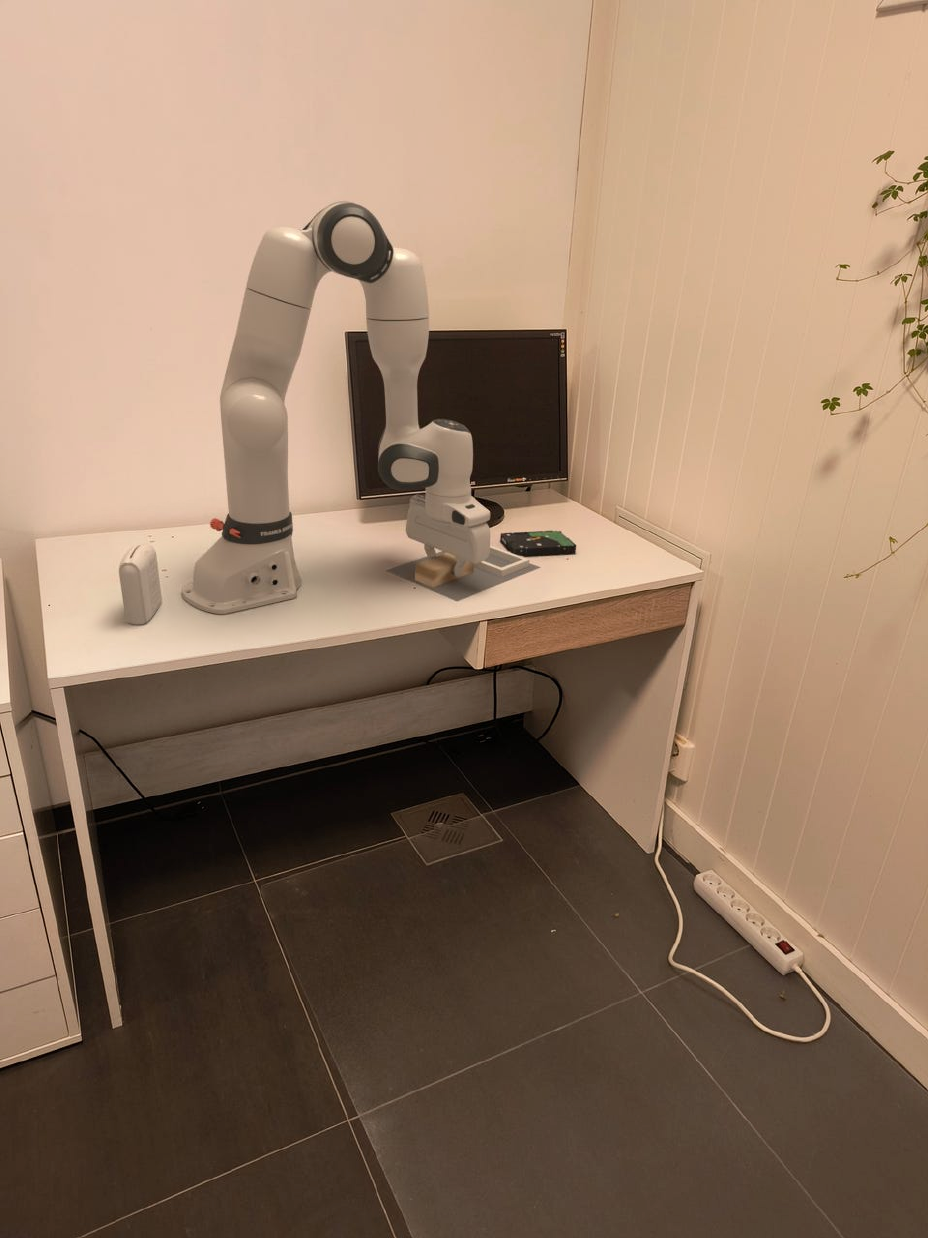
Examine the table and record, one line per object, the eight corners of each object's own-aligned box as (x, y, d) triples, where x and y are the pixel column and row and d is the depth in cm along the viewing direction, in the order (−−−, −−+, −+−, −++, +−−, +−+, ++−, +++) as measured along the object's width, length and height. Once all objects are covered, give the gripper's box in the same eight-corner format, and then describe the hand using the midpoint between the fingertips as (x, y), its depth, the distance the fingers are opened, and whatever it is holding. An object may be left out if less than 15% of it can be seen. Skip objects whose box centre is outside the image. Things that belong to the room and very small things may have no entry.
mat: (457, 603, 153) (457, 593, 152) (385, 572, 165) (385, 563, 164) (540, 568, 171) (541, 560, 170) (470, 543, 183) (471, 535, 182)
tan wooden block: (432, 587, 158) (433, 571, 157) (414, 579, 161) (415, 563, 160) (473, 572, 166) (474, 556, 165) (455, 565, 169) (456, 549, 168)
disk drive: (513, 561, 176) (576, 556, 180) (514, 549, 175) (577, 544, 179) (499, 544, 185) (558, 539, 189) (499, 532, 184) (559, 528, 188)
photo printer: (141, 600, 147) (132, 536, 142) (165, 601, 148) (157, 537, 142) (122, 625, 138) (112, 558, 133) (148, 626, 138) (139, 559, 133)
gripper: (399, 494, 161) (398, 559, 167) (475, 521, 149) (471, 589, 155) (421, 489, 165) (419, 552, 171) (497, 514, 153) (492, 581, 159)
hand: (444, 570), depth 163 cm, fingers closed on tan wooden block, 5 cm apart
